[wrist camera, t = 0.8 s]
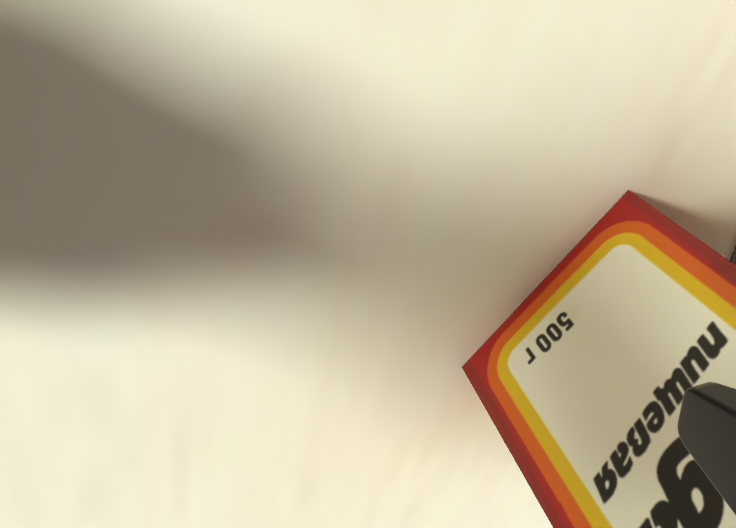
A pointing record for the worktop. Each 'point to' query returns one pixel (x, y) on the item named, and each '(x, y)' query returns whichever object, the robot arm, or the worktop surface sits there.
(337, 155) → the worktop surface
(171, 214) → the worktop surface
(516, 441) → the baking soda box
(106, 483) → the worktop surface
